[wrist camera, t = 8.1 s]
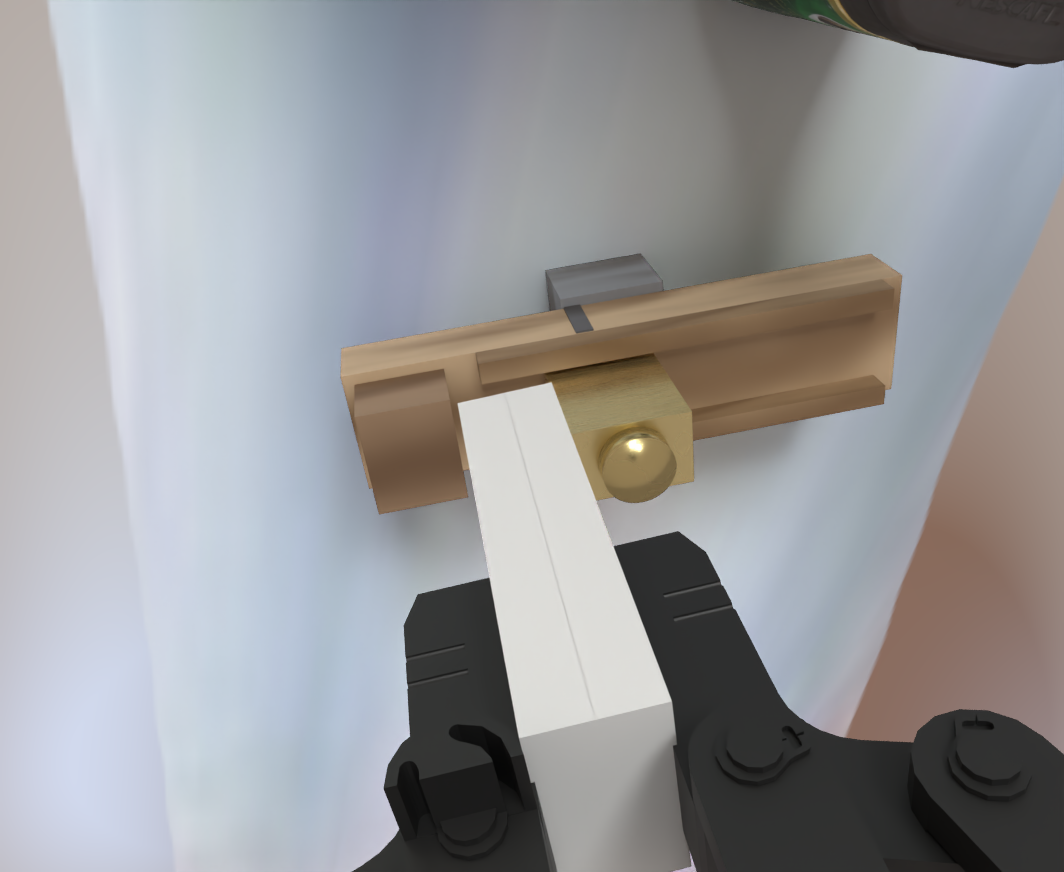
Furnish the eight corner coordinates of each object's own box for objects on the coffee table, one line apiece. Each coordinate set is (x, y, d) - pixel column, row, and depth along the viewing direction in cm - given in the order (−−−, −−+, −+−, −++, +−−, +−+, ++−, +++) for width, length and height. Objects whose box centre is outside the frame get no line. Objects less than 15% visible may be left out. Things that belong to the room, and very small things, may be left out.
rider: (543, 368, 41) (575, 447, 35) (650, 348, 42) (700, 423, 36) (551, 432, 43) (583, 518, 37) (654, 413, 44) (701, 494, 38)
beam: (340, 306, 46) (336, 398, 37) (835, 219, 48) (938, 288, 39) (369, 425, 49) (372, 534, 41) (828, 340, 52) (922, 427, 43)
